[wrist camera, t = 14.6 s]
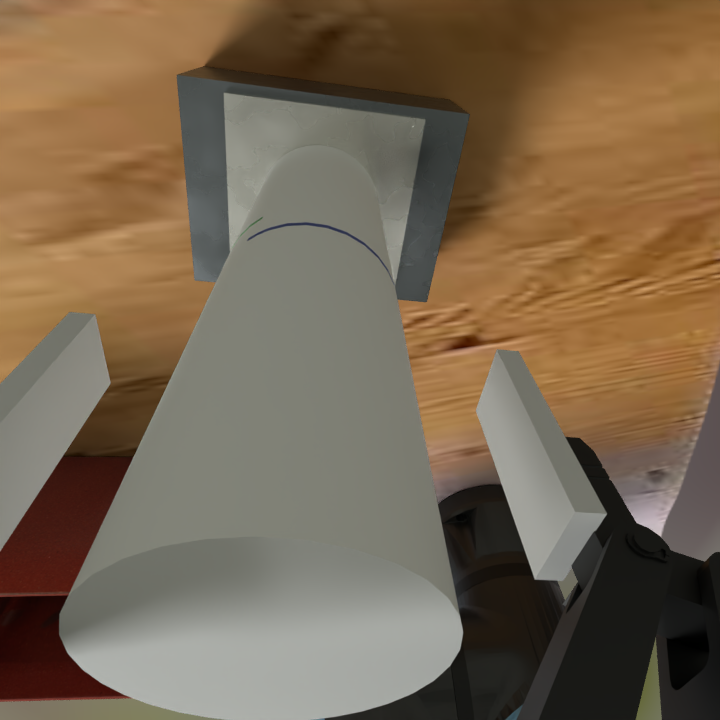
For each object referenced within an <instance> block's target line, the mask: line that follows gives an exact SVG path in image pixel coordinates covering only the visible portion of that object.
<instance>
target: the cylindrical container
mask: <svg viewBox="0 0 720 720" xmlns="http://www.w3.org/2000/svg"><path fill="white" fill-rule="evenodd" d="M59 635H60V638H61V640H62V642H63V644H64V646H65V649H66V651H67V653H68V654H69V655H70V657H71V658H72V659H73V660H74V661H75V662H76V663H77V664H78V665H79V666H80V668H81V669H82V670H84V671H85V672H86V673H88V674H89V675H91V676H92V677H93V678H95V679H96V680H98V681H99V682H100V683H102V684H104V685H106V686H108V687H110V688H112V689H114V690H116V691H118V692H119V693H121V694H123V695H126V696H129V697H131V698H134V699H137V700H139V701H142V702H145V703H147V704H150V705H154V706H158V707H161V708H165V709H169V710H173V711H176V712H180V713H186V714H192V715H197V716H203V717H209V718H216V719H227V720H314V719H322V718H330V717H337V716H342V715H347V714H352V713H357V712H362V711H365V710H369V709H372V708H376V707H379V706H382V705H386V704H389V703H391V702H394V701H396V700H398V699H401V698H403V697H406V696H408V695H410V694H413V693H414V692H416V691H418V690H419V689H421V688H423V687H424V686H426V685H428V684H429V683H431V682H433V681H434V680H435V679H436V678H438V677H439V676H440V675H441V674H442V673H443V672H444V671H445V670H446V669H447V668H448V667H450V665H451V664H452V662H453V660H454V659H455V657H456V656H457V654H458V652H459V651H460V648H461V642H462V637H463V628H462V623H461V618H460V613H459V608H458V603H457V598H456V593H455V588H454V583H453V578H452V573H451V568H450V563H449V558H448V553H447V548H446V543H445V538H444V533H443V528H442V523H441V518H440V513H439V508H438V503H437V498H436V493H435V488H434V483H433V478H432V473H431V468H430V463H429V457H428V452H427V447H426V442H425V437H424V432H423V427H422V422H421V417H420V412H419V407H418V402H417V397H416V392H415V387H414V382H413V377H412V372H411V366H410V361H409V356H408V351H407V346H406V341H405V336H404V331H403V325H402V320H401V315H400V310H399V305H398V300H397V295H396V290H395V285H394V280H393V275H392V270H391V265H390V260H389V255H388V250H387V245H386V240H385V235H384V230H383V225H382V219H381V214H380V209H379V204H378V199H377V194H376V189H375V186H374V184H373V182H372V179H371V177H370V176H369V174H368V173H367V171H366V169H365V168H364V167H363V166H362V165H361V164H360V163H359V162H358V161H357V160H356V159H355V158H353V157H352V156H350V155H349V154H347V153H346V152H344V151H342V150H339V149H337V148H334V147H330V146H324V145H308V146H304V147H300V148H297V149H294V150H292V151H290V152H288V153H286V154H285V155H284V156H283V157H281V158H280V159H279V160H278V161H277V162H276V163H275V164H274V165H273V167H272V168H271V169H270V170H269V172H268V174H267V176H266V178H265V180H264V182H263V184H262V186H261V189H260V191H259V193H258V195H257V197H256V199H255V201H254V203H253V205H252V207H251V209H250V212H249V214H248V216H247V218H246V220H245V222H244V224H243V226H242V228H241V230H240V233H239V235H238V237H237V239H236V241H235V243H234V245H233V247H232V250H231V251H230V254H229V256H228V258H227V260H226V262H225V264H224V266H223V268H222V271H221V273H220V275H219V277H218V279H217V281H216V283H215V285H214V288H213V290H212V292H211V294H210V296H209V298H208V300H207V302H206V305H205V307H204V309H203V311H202V313H201V315H200V317H199V319H198V321H197V324H196V326H195V328H194V330H193V332H192V334H191V336H190V338H189V341H188V343H187V345H186V347H185V349H184V351H183V353H182V355H181V358H180V360H179V362H178V364H177V366H176V368H175V370H174V372H173V375H172V377H171V379H170V381H169V383H168V385H167V387H166V389H165V391H164V394H163V396H162V398H161V400H160V402H159V404H158V406H157V408H156V411H155V413H154V415H153V417H152V419H151V421H150V423H149V425H148V428H147V430H146V432H145V434H144V436H143V438H142V440H141V442H140V445H139V447H138V449H137V451H136V453H135V455H134V457H133V459H132V462H131V464H130V466H129V468H128V470H127V472H126V474H125V476H124V478H123V481H122V483H121V485H120V487H119V489H118V491H117V493H116V495H115V498H114V500H113V502H112V504H111V506H110V508H109V510H108V512H107V515H106V517H105V519H104V521H103V523H102V525H101V527H100V529H99V532H98V534H97V536H96V538H95V540H94V542H93V544H92V546H91V548H90V551H89V553H88V555H87V557H86V559H85V561H84V563H83V565H82V568H81V570H80V572H79V574H78V576H77V578H76V580H75V582H74V585H73V587H72V589H71V591H70V593H69V595H68V597H67V599H66V602H65V604H64V606H63V608H62V610H61V612H60V617H59Z"/></svg>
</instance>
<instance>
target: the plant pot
mask: <svg viewBox="0 0 720 720" xmlns="http://www.w3.org/2000/svg"><path fill="white" fill-rule="evenodd" d="M132 459H133V457H62V458H61V460H60V461H59V463H58V464H57V466H56V467H55V469H54V470H53V472H52V473H51V475H50V476H49V478H48V479H47V481H46V482H45V484H44V485H43V487H42V489H41V490H40V492H39V493H38V495H37V496H36V498H35V499H34V501H33V502H32V504H31V505H30V507H29V508H28V510H27V511H26V513H25V514H24V516H23V517H22V519H21V520H20V522H19V524H18V525H17V527H16V528H15V530H14V531H13V533H12V534H11V536H10V537H9V539H8V540H7V542H6V543H5V545H4V546H3V548H2V549H1V551H0V702H4V701H40V700H77V699H119V698H131V697H129V696H126V695H123V694H121V693H119V692H118V691H116V690H114V689H112V688H110V687H108V686H106V685H104V684H102V683H100V682H99V681H98V680H96V679H95V678H93V677H92V676H91V675H89V674H88V673H86V672H85V671H84V670H82V669H81V668H80V666H79V665H78V664H77V663H76V662H75V661H74V660H73V659H72V658H71V657H70V655H69V654H68V653H67V651H66V649H65V646H64V644H63V642H62V640H61V638H60V635H59V617H60V612H61V610H62V608H63V606H64V604H65V602H66V599H67V597H68V595H69V593H70V591H71V589H72V587H73V585H74V582H75V580H76V578H77V576H78V574H79V572H80V570H81V568H82V565H83V563H84V561H85V559H86V557H87V555H88V553H89V551H90V548H91V546H92V544H93V542H94V540H95V538H96V536H97V534H98V532H99V529H100V527H101V525H102V523H103V521H104V519H105V517H106V515H107V512H108V510H109V508H110V506H111V504H112V502H113V500H114V498H115V495H116V493H117V491H118V489H119V487H120V485H121V483H122V481H123V478H124V476H125V474H126V472H127V470H128V468H129V466H130V464H131V462H132Z"/></svg>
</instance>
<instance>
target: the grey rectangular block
mask: <svg viewBox="0 0 720 720" xmlns="http://www.w3.org/2000/svg"><path fill="white" fill-rule="evenodd" d="M177 85H178V96H179V107H180V119H181V130H182V141H183V153H184V164H185V175H186V187H187V198H188V210H189V221H190V232H191V244H192V255H193V266H194V278H195V280H197V281H207V282H216V281H217V279H218V277H219V275H220V273H221V271H222V268H223V266H224V264H225V262H226V260H227V258H228V256H229V254H230V251H231V250H232V247H233V245H234V243H235V241H236V239H237V237H238V235H239V233H240V230H241V228H242V226H243V224H244V222H245V220H246V218H247V216H248V214H249V212H250V209H251V207H252V205H253V203H254V201H255V199H256V197H257V195H258V193H259V191H260V189H261V186H262V184H263V182H264V180H265V178H266V176H267V174H268V172H269V170H270V169H271V168H272V167H273V165H274V164H275V163H276V162H277V161H278V160H279V159H280V158H281V157H283V156H284V155H285V154H286V153H288V152H290V151H292V150H294V149H297V148H300V147H304V146H308V145H324V146H330V147H334V148H337V149H339V150H342V151H344V152H346V153H347V154H349V155H350V156H352V157H353V158H355V159H356V160H357V161H358V162H359V163H360V164H361V165H362V166H363V167H364V168H365V169H366V171H367V173H368V174H369V176H370V177H371V179H372V182H373V184H374V186H375V189H376V194H377V199H378V204H379V209H380V214H381V219H382V225H383V230H384V235H385V240H386V245H387V250H388V255H389V260H390V265H391V270H392V275H393V280H394V285H395V290H396V295H397V299H398V300H409V301H419V302H427V299H428V294H429V290H430V286H431V281H432V277H433V273H434V268H435V264H436V259H437V255H438V251H439V246H440V242H441V238H442V233H443V229H444V225H445V220H446V216H447V212H448V207H449V203H450V198H451V194H452V190H453V185H454V181H455V177H456V172H457V168H458V164H459V159H460V155H461V151H462V146H463V142H464V138H465V133H466V129H467V124H468V120H469V116H470V114H469V113H467V112H466V111H465V110H463V109H462V108H461V107H459V106H458V105H456V104H455V103H454V102H452V101H451V100H447V99H440V98H433V97H425V96H418V95H411V94H403V93H396V92H389V91H382V90H374V89H367V88H360V87H352V86H345V85H338V84H330V83H323V82H316V81H308V80H301V79H294V78H286V77H279V76H272V75H264V74H257V73H250V72H242V71H235V70H228V69H221V68H213V67H206V66H203V67H200V68H196V69H193V70H190V71H187V72H184V73H181V74H178V75H177Z"/></svg>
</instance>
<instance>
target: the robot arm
mask: <svg viewBox="0 0 720 720" xmlns="http://www.w3.org/2000/svg"><path fill="white" fill-rule="evenodd" d="M110 384H111V382H110V378H109V373H108V369H107V365H106V360H105V356H104V351H103V347H102V342H101V338H100V333H99V329H98V325H97V320H96V316H95V314H85V313H74V312H69V313H68V314H67V315H66V316H65V318H64V319H63V320H62V321H61V322H60V323H59V324H58V325H57V326H56V327H55V328H54V329H53V330H52V331H51V332H50V333H49V334H48V335H47V336H46V337H45V338H44V339H43V340H42V341H41V342H40V343H39V344H38V345H37V346H36V347H35V349H34V350H33V351H32V352H31V353H30V354H29V355H28V356H27V357H26V358H25V359H24V360H23V361H22V362H21V363H20V364H19V365H18V366H17V367H16V368H15V369H14V370H13V371H12V372H11V373H10V374H9V375H8V376H7V377H6V378H5V380H4V381H3V382H2V383H1V384H0V551H1V549H2V548H3V546H4V545H5V543H6V542H7V540H8V539H9V537H10V536H11V534H12V533H13V531H14V530H15V528H16V527H17V525H18V524H19V522H20V520H21V519H22V517H23V516H24V514H25V513H26V511H27V510H28V508H29V507H30V505H31V504H32V502H33V501H34V499H35V498H36V496H37V495H38V493H39V492H40V490H41V489H42V487H43V485H44V484H45V482H46V481H47V479H48V478H49V476H50V475H51V473H52V472H53V470H54V469H55V467H56V466H57V464H58V463H59V461H60V460H61V458H62V457H63V455H64V454H65V452H66V450H67V449H68V447H69V446H70V444H71V443H72V441H73V440H74V438H75V437H76V435H77V434H78V432H79V431H80V429H81V428H82V426H83V425H84V423H85V422H86V420H87V419H88V417H89V416H90V414H91V412H92V411H93V409H94V408H95V406H96V405H97V403H98V402H99V400H100V399H101V397H102V396H103V394H104V393H105V391H106V390H107V388H108V387H109V385H110ZM476 412H477V415H478V418H479V421H480V424H481V426H482V429H483V432H484V435H485V438H486V441H487V444H488V446H489V449H490V452H491V455H492V458H493V461H494V464H495V467H496V469H497V472H498V475H499V478H500V481H501V484H502V485H489V486H481V487H475V488H471V489H468V490H464V491H462V492H459V493H457V494H454V495H452V496H450V497H449V498H447V499H445V500H444V501H442V502H441V503H439V504H438V508H439V513H440V518H441V523H442V528H443V533H444V538H445V543H446V548H447V553H448V558H449V563H450V568H451V573H452V578H453V583H454V588H455V593H456V598H457V603H458V608H459V613H460V618H461V623H462V628H463V637H462V642H461V648H460V651H459V652H458V654H457V656H456V657H455V659H454V660H453V662H452V664H451V665H450V667H448V668H447V669H446V670H445V671H444V672H443V673H442V674H441V675H440V676H439V677H438V678H436V679H435V680H434V681H433V682H431V683H429V684H428V685H426V686H424V687H423V688H421V689H419V690H418V691H416V692H414V693H413V694H410V695H408V696H406V697H403V698H401V699H398V700H396V701H394V702H391V703H389V704H386V705H382V706H379V707H376V708H372V709H369V710H365V711H362V712H357V713H352V714H347V715H342V716H337V717H330V718H322V719H314V720H635V719H636V716H637V711H638V707H639V703H640V699H641V695H642V691H643V687H644V682H645V679H646V674H647V670H648V666H649V662H650V658H651V654H652V650H653V646H654V642H655V637H656V645H657V658H658V672H659V686H660V699H661V714H662V720H720V552H716V553H714V554H713V555H711V556H710V557H709V558H708V559H707V561H705V562H704V561H701V560H697V559H694V558H692V557H689V556H686V555H683V554H679V553H676V552H673V551H671V550H670V548H669V546H668V545H667V544H666V543H665V541H664V540H663V539H662V538H661V537H660V536H659V535H657V534H656V533H655V532H653V531H652V530H650V529H649V528H647V527H644V526H642V525H640V524H637V523H636V521H635V520H634V518H633V516H632V515H631V513H630V511H629V510H628V508H627V506H626V505H625V503H624V501H623V500H622V498H621V496H620V495H619V493H618V491H617V490H616V488H615V486H614V484H613V483H612V481H611V480H609V476H608V474H607V473H606V471H605V469H604V468H602V464H601V463H600V461H599V459H598V458H597V456H596V454H595V452H594V451H593V450H592V449H591V448H590V447H589V446H588V445H587V444H585V443H584V442H583V441H582V440H581V439H580V438H572V437H565V436H564V434H563V432H562V430H561V428H560V427H559V425H558V423H557V421H556V419H555V417H554V416H553V414H552V412H551V410H550V408H549V406H548V405H547V403H546V401H545V399H544V397H543V395H542V394H541V392H540V390H539V388H538V386H537V384H536V383H535V381H534V379H533V377H532V375H531V373H530V372H529V370H528V368H527V366H526V364H525V362H524V361H523V359H522V357H521V355H520V353H519V351H508V350H497V351H496V354H495V357H494V360H493V362H492V365H491V368H490V371H489V374H488V377H487V380H486V383H485V386H484V389H483V392H482V394H481V397H480V400H479V403H478V406H477V409H476ZM571 568H572V569H573V571H574V573H575V576H576V578H577V580H578V583H577V584H576V586H575V587H574V588H573V590H572V591H571V593H570V594H569V596H568V597H567V599H566V600H565V599H564V597H563V594H562V592H561V590H560V587H559V584H558V582H557V581H563V580H564V578H565V577H566V576H567V574H568V572H569V571H570V569H571Z"/></svg>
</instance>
